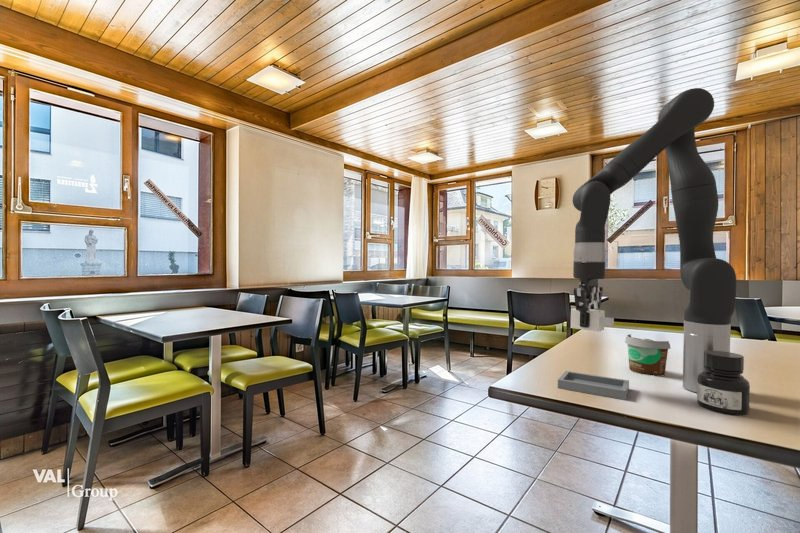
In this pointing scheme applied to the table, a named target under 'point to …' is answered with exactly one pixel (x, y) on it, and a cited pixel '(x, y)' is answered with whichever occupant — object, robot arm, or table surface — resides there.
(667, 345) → the food container
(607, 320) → the plug
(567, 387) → the tray
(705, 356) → the ink bottle
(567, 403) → the table surface
